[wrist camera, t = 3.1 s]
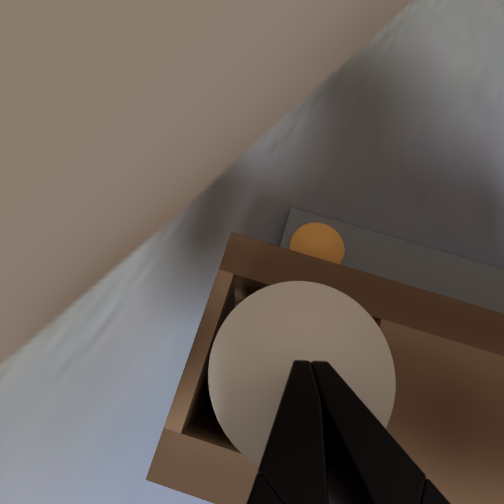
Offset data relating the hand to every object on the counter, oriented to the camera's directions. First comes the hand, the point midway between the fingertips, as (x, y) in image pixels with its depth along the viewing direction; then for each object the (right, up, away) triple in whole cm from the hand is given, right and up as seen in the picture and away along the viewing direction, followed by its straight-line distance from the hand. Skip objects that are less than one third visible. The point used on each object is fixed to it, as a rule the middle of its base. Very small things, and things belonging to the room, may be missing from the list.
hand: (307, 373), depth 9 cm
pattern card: (+8, +1, +12) cm, 14 cm away
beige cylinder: (0, -2, +7) cm, 7 cm away
